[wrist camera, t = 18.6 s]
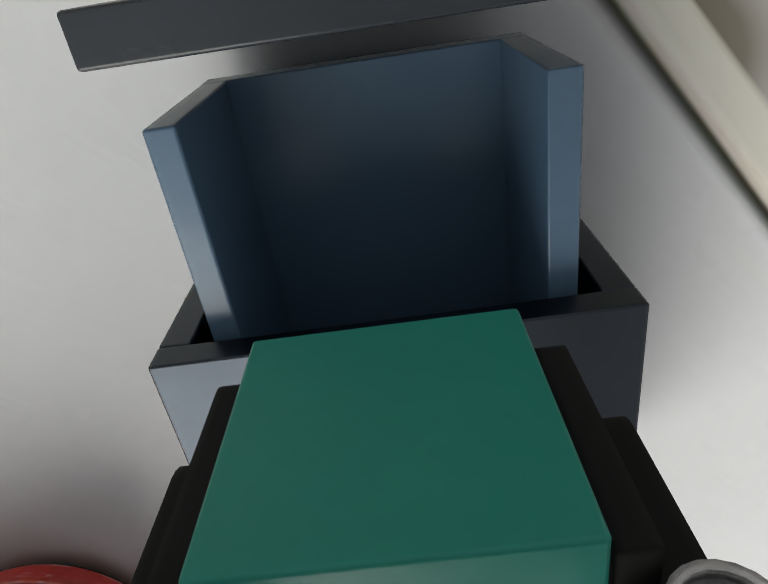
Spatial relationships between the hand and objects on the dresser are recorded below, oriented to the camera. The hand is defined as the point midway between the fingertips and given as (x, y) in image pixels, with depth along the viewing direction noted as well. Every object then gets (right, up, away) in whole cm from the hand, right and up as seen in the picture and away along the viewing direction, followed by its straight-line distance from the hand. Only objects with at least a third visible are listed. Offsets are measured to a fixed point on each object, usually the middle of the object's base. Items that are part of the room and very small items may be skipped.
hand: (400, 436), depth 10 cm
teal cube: (0, 0, 0) cm, 0 cm away
